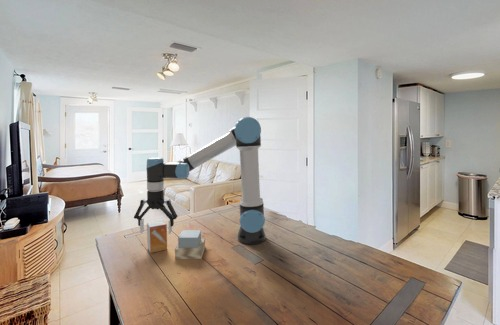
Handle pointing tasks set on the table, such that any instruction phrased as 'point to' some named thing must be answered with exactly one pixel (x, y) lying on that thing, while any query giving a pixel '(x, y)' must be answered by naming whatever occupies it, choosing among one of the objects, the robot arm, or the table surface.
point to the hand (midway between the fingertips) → (156, 232)
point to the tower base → (190, 251)
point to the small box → (157, 236)
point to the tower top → (189, 239)
